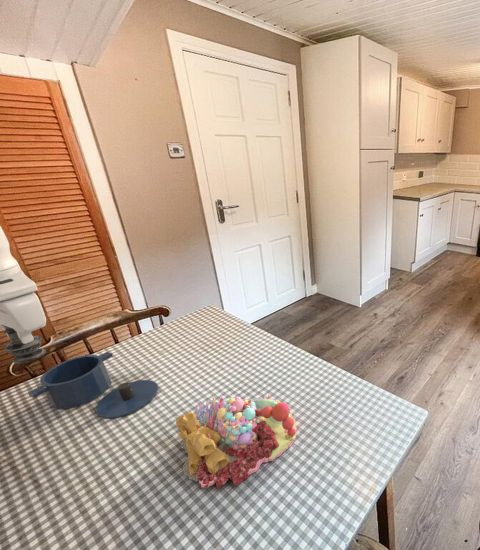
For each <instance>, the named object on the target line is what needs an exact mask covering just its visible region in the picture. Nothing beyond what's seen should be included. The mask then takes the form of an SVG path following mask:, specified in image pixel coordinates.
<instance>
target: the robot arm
mask: <svg viewBox="0 0 480 550" xmlns="http://www.w3.org/2000/svg"><path fill="white" fill-rule="evenodd" d="M38 290H39V289H38V286H37V284H36V283H35V281H33V280H32V279H31V278H30V277H28V276H27V275H26V273H24V271H23V270H22V268H21V266H20V264H19V262H18V260H17V259H16V258H15V257H14V256H13V255H12V253H11V249H10V242H9V240H8V237H7V236H6V234H5V231H4V230H3V228H2V226H1V225H0V328H1V330H3V331H4V330H6V329H5V327H4V326H7V327H10V328H12V329H14V330H15V331H16V332H17V334H18V336H17V338H18V339H19V342H21V343H24V344H26V343H29V342H31V341H33V340H34V338H33V336H34V335H33V334H32V333H33V332H35V331H37V330H39V329H42V328H44V327H45V326H47V317H46V313H45V311H44V309H43V306H42V303H41V301H40V299H39V297H38V295H37V294H36V293H35V292H37V291H38ZM5 334H6V336H7V338H9V336H8V334H7V333H5Z"/></svg>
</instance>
